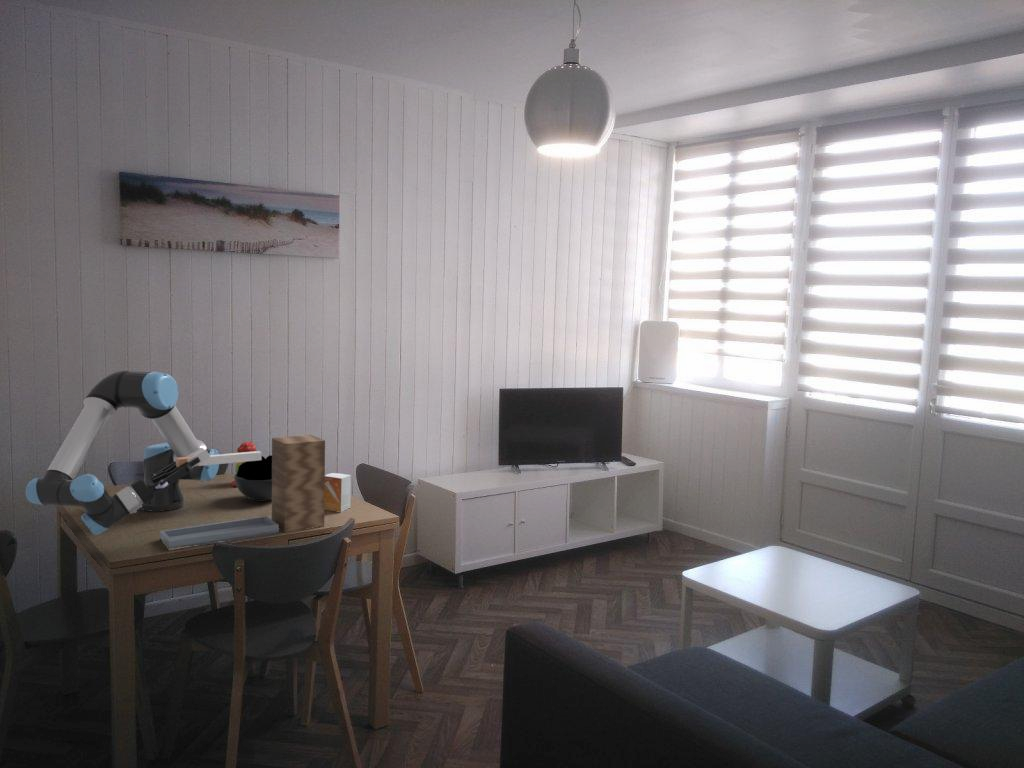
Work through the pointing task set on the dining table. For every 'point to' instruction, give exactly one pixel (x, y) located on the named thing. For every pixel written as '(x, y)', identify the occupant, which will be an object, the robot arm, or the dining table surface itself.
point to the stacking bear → (244, 448)
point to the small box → (337, 492)
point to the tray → (219, 532)
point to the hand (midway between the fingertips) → (206, 451)
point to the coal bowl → (255, 479)
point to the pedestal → (298, 482)
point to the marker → (224, 458)
